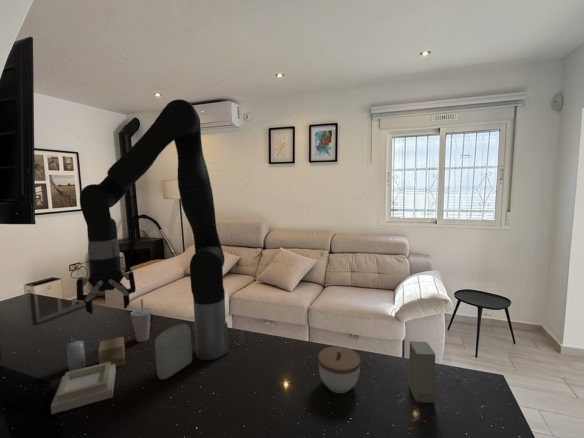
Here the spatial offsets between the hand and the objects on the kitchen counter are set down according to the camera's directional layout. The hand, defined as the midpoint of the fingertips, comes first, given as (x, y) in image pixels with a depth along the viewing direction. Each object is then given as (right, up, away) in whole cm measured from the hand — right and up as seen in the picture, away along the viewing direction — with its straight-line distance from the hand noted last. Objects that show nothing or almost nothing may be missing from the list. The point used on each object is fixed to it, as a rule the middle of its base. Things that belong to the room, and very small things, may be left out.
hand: (109, 310), depth 87 cm
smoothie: (+2, -15, +15) cm, 21 cm away
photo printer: (+20, -16, -2) cm, 26 cm away
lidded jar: (+65, -17, -9) cm, 68 cm away
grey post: (-9, -16, -1) cm, 18 cm away
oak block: (0, -16, +2) cm, 16 cm away
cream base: (+1, -17, -10) cm, 20 cm away
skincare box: (+85, -17, -13) cm, 87 cm away
